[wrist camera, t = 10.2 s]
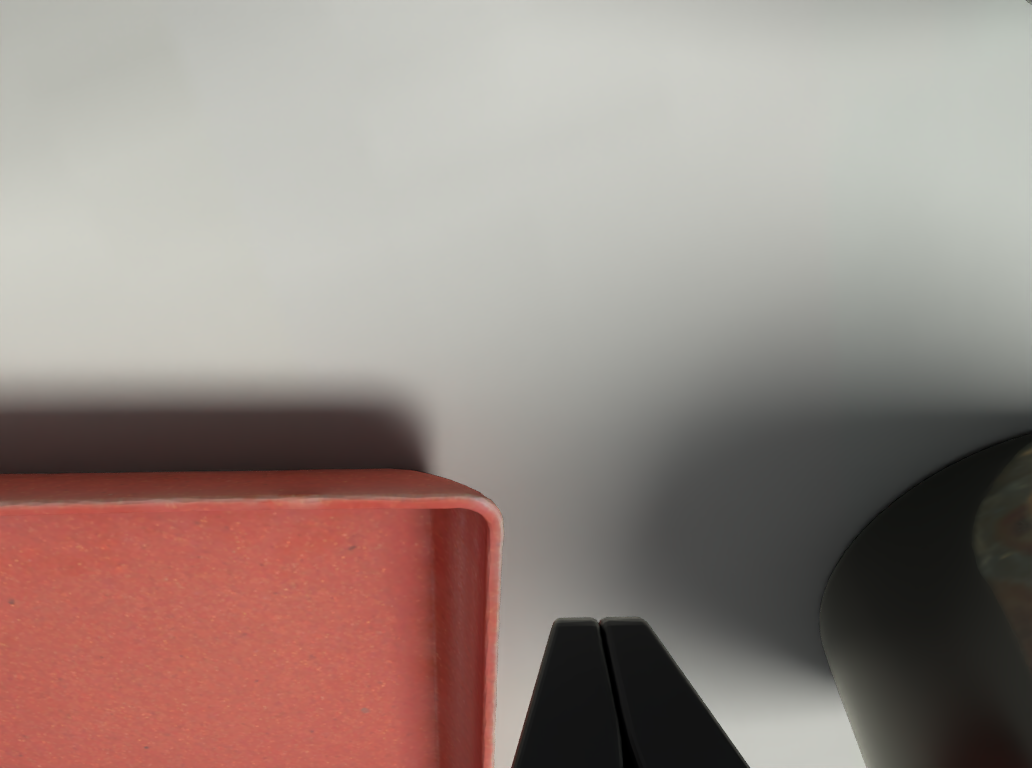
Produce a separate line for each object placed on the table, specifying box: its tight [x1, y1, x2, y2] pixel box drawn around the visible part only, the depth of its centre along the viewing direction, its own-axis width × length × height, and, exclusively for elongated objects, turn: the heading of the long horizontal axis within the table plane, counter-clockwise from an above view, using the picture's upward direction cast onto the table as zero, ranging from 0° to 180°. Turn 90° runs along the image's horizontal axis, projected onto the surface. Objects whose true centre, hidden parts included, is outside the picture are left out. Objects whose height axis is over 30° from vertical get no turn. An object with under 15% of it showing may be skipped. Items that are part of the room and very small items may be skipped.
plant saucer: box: [0, 468, 504, 768], centre depth 27 cm, size 18×18×3 cm
